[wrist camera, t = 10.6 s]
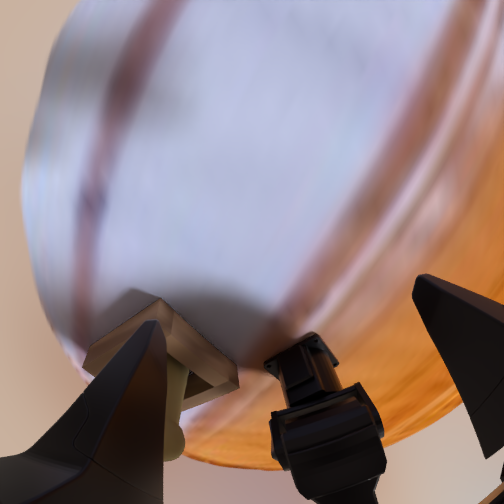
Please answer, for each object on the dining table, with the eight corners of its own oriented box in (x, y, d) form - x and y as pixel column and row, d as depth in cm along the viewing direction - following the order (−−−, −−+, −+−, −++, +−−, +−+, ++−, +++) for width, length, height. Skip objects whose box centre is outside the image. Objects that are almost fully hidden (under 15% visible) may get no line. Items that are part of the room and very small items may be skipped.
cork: (193, 342, 25) (193, 448, 15) (188, 379, 27) (188, 471, 18) (131, 332, 23) (107, 435, 14) (134, 371, 26) (119, 461, 16)
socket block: (236, 365, 27) (239, 388, 24) (162, 398, 29) (161, 418, 26) (160, 297, 22) (155, 321, 19) (89, 346, 24) (82, 367, 21)
